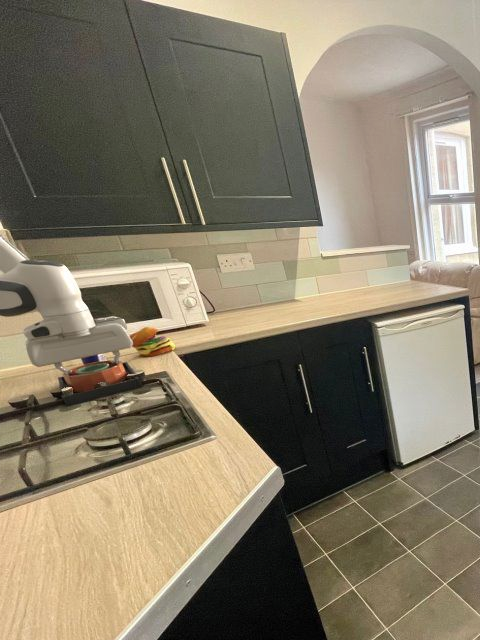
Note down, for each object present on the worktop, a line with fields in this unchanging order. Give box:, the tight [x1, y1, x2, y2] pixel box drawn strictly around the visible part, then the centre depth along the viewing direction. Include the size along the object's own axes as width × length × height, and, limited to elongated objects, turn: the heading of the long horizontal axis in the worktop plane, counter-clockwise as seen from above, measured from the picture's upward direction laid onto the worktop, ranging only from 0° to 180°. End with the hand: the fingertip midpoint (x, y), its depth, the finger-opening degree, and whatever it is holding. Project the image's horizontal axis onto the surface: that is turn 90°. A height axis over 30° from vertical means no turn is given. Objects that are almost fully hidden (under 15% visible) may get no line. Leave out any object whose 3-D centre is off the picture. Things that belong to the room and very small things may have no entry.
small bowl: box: [75, 363, 110, 376], centre depth 116 cm, size 7×7×4 cm
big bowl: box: [62, 359, 127, 392], centre depth 116 cm, size 12×12×6 cm
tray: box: [57, 361, 143, 407], centre depth 117 cm, size 15×21×2 cm
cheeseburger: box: [129, 326, 176, 357], centre depth 142 cm, size 10×11×10 cm
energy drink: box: [80, 353, 108, 365], centre depth 129 cm, size 5×5×12 cm
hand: (94, 371), depth 116 cm, fingers open, 8 cm apart
